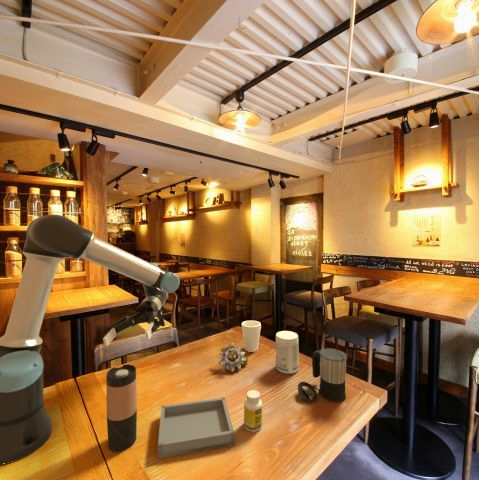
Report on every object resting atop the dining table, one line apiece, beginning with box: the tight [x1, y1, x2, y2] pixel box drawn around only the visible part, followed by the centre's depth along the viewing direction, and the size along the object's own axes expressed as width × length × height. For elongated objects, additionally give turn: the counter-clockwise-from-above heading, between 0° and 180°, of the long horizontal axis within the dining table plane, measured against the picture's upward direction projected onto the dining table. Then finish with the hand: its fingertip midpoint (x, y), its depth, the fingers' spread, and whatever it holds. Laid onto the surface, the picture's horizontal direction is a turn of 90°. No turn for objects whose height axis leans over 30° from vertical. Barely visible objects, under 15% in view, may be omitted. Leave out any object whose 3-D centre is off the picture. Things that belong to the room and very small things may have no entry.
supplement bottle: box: [243, 389, 263, 433], centre depth 81 cm, size 5×5×10 cm
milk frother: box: [297, 347, 348, 403], centre depth 96 cm, size 14×16×15 cm
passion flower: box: [218, 342, 248, 373], centre depth 116 cm, size 11×11×12 cm
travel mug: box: [106, 364, 138, 453], centre depth 75 cm, size 8×8×20 cm
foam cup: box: [241, 320, 262, 352], centre depth 132 cm, size 10×9×13 cm
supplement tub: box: [275, 330, 300, 375], centre depth 114 cm, size 10×10×15 cm
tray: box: [157, 397, 235, 460], centre depth 79 cm, size 20×16×4 cm
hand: (125, 339), depth 85 cm, fingers open, 13 cm apart
